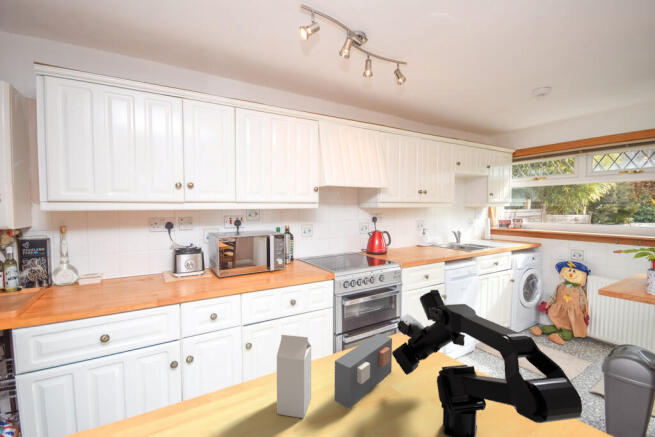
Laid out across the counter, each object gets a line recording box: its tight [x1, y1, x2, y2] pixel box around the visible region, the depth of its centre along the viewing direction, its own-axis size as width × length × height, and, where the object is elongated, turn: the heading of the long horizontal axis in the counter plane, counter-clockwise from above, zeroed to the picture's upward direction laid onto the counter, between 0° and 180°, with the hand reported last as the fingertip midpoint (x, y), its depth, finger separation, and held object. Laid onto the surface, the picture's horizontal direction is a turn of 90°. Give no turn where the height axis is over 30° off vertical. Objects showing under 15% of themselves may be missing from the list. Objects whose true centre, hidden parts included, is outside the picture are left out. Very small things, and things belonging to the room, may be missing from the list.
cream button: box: [357, 361, 370, 384], centre depth 78 cm, size 2×4×4 cm, turn 139°
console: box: [334, 332, 393, 410], centre depth 85 cm, size 5×22×11 cm, turn 139°
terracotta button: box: [379, 347, 390, 367], centre depth 87 cm, size 2×4×4 cm, turn 139°
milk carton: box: [276, 334, 312, 419], centre depth 75 cm, size 7×7×19 cm
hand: (397, 361), depth 84 cm, fingers closed
